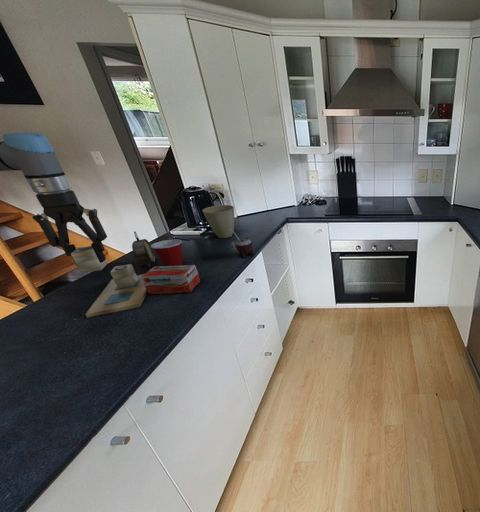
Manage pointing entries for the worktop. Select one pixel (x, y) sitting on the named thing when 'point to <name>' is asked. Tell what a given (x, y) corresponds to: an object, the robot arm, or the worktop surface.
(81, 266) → the tile
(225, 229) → the plant pot
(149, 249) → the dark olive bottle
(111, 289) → the beige flat board
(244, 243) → the mate gourd
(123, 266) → the tile
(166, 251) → the plastic cup
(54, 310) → the worktop surface
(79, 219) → the robot arm
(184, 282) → the medicine box
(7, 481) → the worktop surface
